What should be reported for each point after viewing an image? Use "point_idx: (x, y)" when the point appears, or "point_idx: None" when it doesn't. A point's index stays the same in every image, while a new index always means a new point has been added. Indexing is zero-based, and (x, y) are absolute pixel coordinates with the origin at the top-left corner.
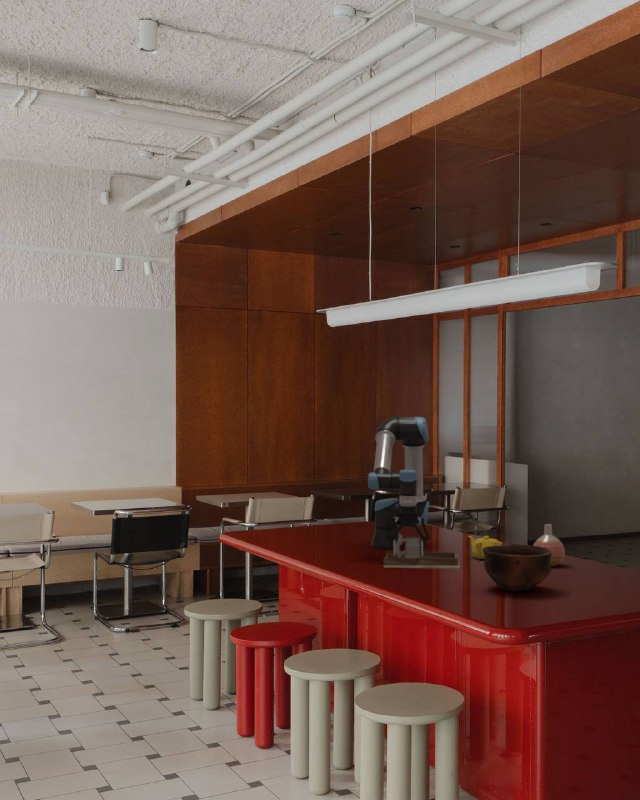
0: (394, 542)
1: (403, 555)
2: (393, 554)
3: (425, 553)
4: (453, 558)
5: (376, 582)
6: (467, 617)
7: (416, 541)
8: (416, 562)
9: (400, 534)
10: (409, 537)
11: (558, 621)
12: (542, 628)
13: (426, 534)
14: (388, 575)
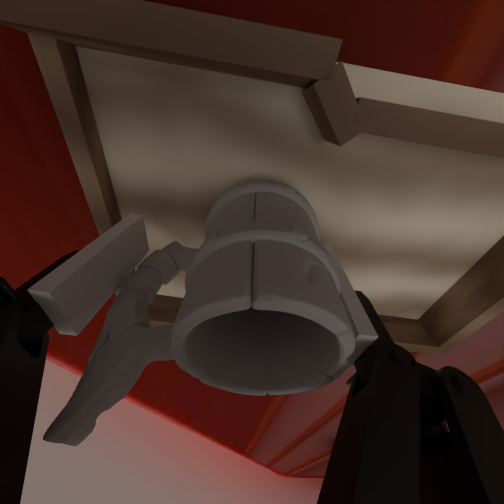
0: (83, 320)
1: (198, 64)
2: (96, 43)
3: (395, 138)
4: (425, 350)
5: (164, 403)
6: (267, 467)
7: (283, 368)
8: None
9: (88, 431)
10: (218, 312)
11: None
12: (313, 477)
13: (423, 465)
14: (177, 371)
